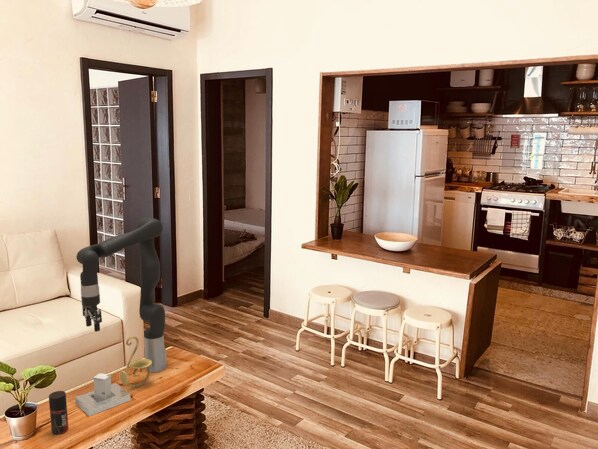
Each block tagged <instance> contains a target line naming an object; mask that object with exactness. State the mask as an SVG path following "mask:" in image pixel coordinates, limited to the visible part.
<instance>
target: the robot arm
mask: <svg viewBox="0 0 598 449" xmlns="http://www.w3.org/2000/svg"><path fill="white" fill-rule="evenodd" d="M163 228H164V227H163V223H162V222H161V221H160V220H158V219H157V218H153V217H148V216H147V217H145V216H144V217H142V218H141V219H139V221H138V222H137V228H136V229H134V230H132V231H129V232H125V233H122V234H118V235H117V234H116V235H115V236H112V237H110V238H108V239H105V240H103V241H101V242H99V243H96V244H91V245H88V246H85V247H83V248H81V249H80V250H79V251H78V252H77V253H76V257H75V258H76V261H77V262H78V263H79V264H80V265H82V271H81V272H80V274H79V275H80V299H81V306H82V316H83V317H84V319H85V326H86V327H91V326H92V322H93V326H94V328H93V329H94V330H93V331H94V332H95V333H97V332H100V331H101V324H100V323H103V318H102V310H101V308H98V305H100V304H101V295H100V286H99V278H98V277H99V276H98V272H99V267H100V266H99V264H100V258H106V257H110V256H112V255H115V254H117V253H118V252H120V251H123V250H125V249H127V248H129V247H131V246H134V245H137V244H139V275H140V276H139V277H140V299H139V309H138V310H139V311H138V312H139V318H140V319H141V320H142V321H143V322H146V323H149V327H148V328H146V329H145V330H144V332H143V338H144V339H143V341H144V359H149V360H151V361H152V363H151V365H150V366H148V367H149V370H150V373H158V372H162V371H164V370H165V369H166V368H168V366H167V365H168V364H167V362H168V361H167V360H168V359H167V349H166V348H165V339H164V338H165V336H164V335H165V329H166V311H165V310H166V309H165V308H164V306H163V305H161V304H157V303H154V292H155V288H156V287H157V285H158V283H159V281H160V279H161V262H160V258H159V257H158V253H157V250H156V247H155V239H156V238H157V237H159V236H161V234H162V232H163ZM145 371H146V372H148V371H147V368H145Z"/></svg>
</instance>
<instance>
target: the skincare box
mask: <svg viewBox="0 0 598 449" xmlns="http://www.w3.org/2000/svg"><path fill="white" fill-rule="evenodd" d="M111 384H112V375H110V374H107V373H101V372H99V373H97V374H96V375H95V376H93V391H94V400H95V401H96V402H100V401H103V400H106V399H108V398H111Z"/></svg>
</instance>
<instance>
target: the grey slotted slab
mask: <svg viewBox="0 0 598 449" xmlns="http://www.w3.org/2000/svg"><path fill="white" fill-rule="evenodd" d="M74 397H75V398H74V399H75V402H74V403H75V404H76V405H77V407H78V408H80V409H81V410H82V411H83V412H84V413H85V414H86V415H87V416H88V417H91V416H94V415H96V414H99V413H101V412H104V411H106V410H109V409H111V408H115V407H117V406H120V405H122V404H125V403H127V402H130V401H131V393H129V391H127V390H126V389H124V388H123V387H122V386H120V385H119V384H118V383H116V382H114V383H111V398H108V399H106V400H103V401H100V402H96V401H95V400H94V390H91V391H88V392H86V393H83V394H81V395H77V396H74Z"/></svg>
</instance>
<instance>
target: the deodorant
mask: <svg viewBox="0 0 598 449" xmlns="http://www.w3.org/2000/svg"><path fill="white" fill-rule="evenodd" d="M48 403H49V406H48V407H49V415H50V417H49V418H50V428H51V434H52V435H54V436H60V435H63V434H65V433H67V432H68V430H69V419H68V407H67V406H68V404H67V392H65V391H64V390H57V391H53V392H51V393H50V394H49V395H48Z"/></svg>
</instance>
